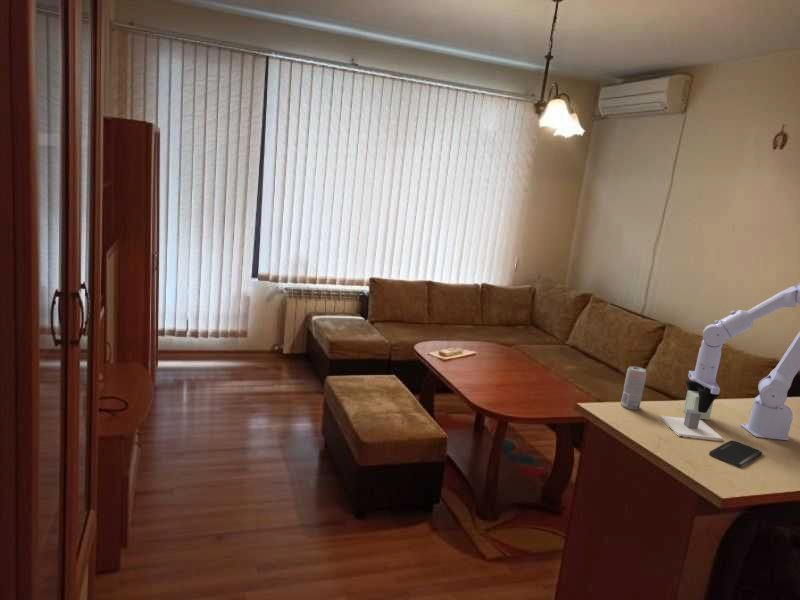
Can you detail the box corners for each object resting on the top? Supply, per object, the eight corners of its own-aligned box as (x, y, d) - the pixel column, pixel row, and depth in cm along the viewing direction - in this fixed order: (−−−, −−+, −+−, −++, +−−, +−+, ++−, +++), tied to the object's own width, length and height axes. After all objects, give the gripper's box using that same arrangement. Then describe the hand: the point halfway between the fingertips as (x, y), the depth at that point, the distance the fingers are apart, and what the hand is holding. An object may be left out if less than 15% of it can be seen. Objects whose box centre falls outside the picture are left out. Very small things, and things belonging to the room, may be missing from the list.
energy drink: (636, 404, 176) (644, 367, 174) (641, 411, 171) (649, 373, 169) (618, 402, 177) (625, 364, 174) (623, 408, 172) (630, 370, 169)
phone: (763, 451, 150) (741, 465, 140) (762, 455, 150) (739, 469, 140) (731, 439, 156) (707, 451, 146) (730, 443, 156) (706, 455, 146)
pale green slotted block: (700, 412, 175) (704, 392, 173) (708, 419, 170) (713, 398, 168) (683, 410, 175) (687, 390, 173) (691, 417, 170) (696, 396, 168)
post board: (700, 422, 167) (704, 405, 166) (722, 441, 156) (726, 422, 155) (659, 418, 167) (663, 401, 166) (678, 436, 156) (682, 418, 154)
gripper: (682, 355, 176) (673, 397, 179) (706, 371, 162) (695, 416, 165) (705, 358, 176) (695, 399, 179) (731, 374, 162) (720, 419, 165)
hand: (697, 408), depth 172 cm, fingers closed on pale green slotted block, 5 cm apart
